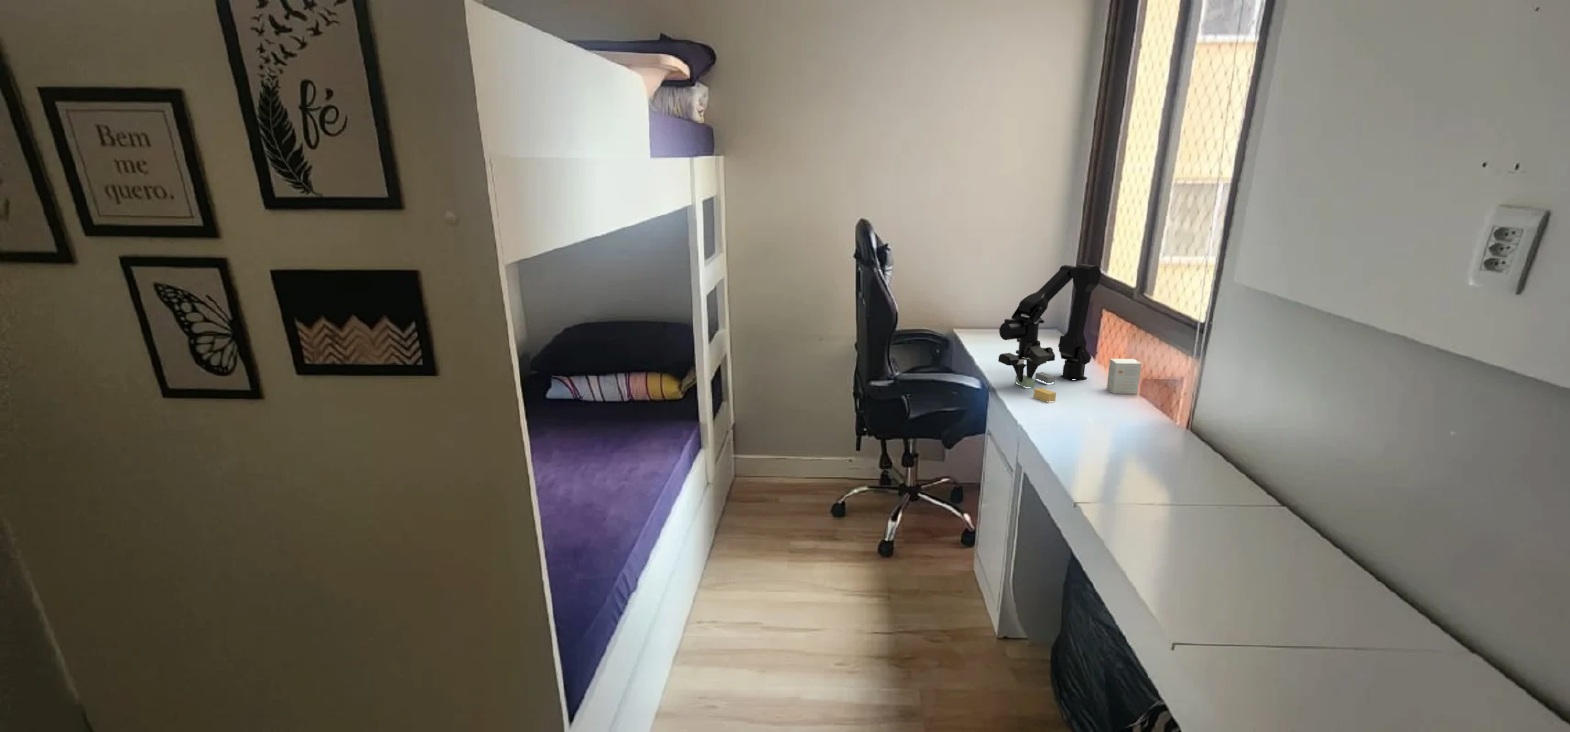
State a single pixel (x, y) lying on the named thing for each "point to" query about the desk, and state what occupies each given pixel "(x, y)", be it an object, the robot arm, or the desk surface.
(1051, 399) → the ochre brick
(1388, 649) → the desk surface
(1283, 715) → the desk surface
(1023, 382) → the sage brick
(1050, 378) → the slate brick
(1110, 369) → the small box
